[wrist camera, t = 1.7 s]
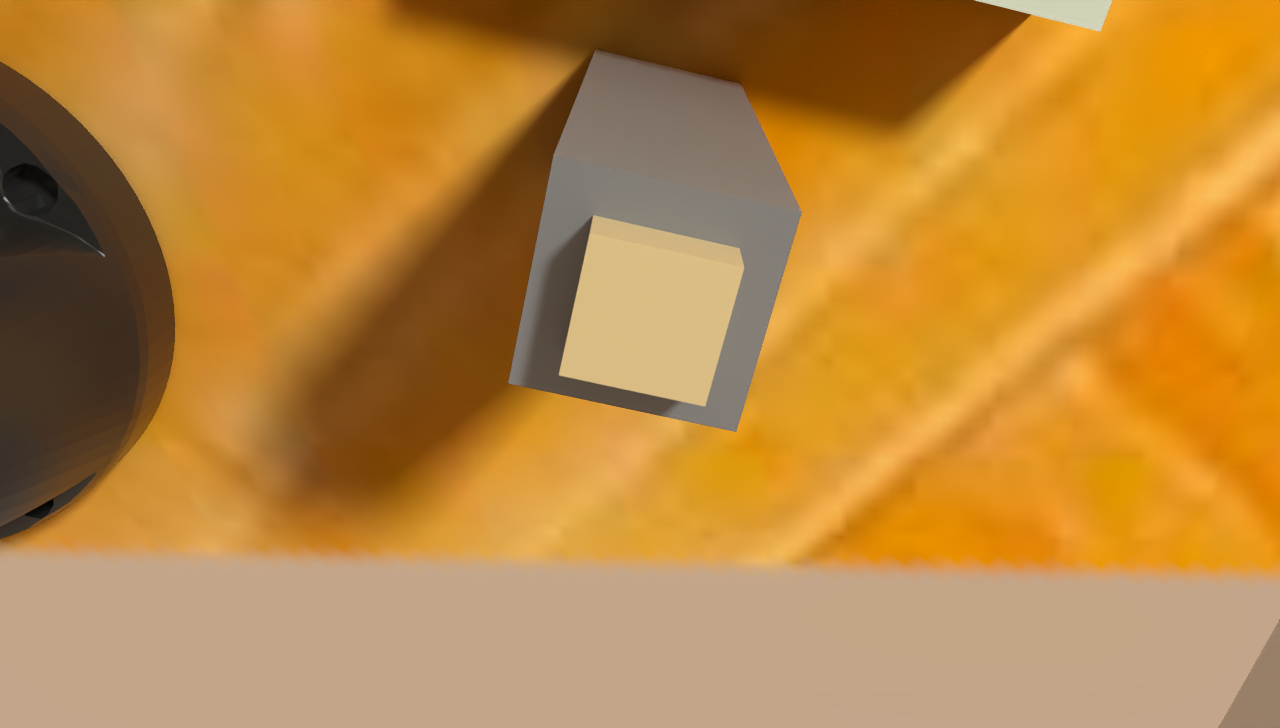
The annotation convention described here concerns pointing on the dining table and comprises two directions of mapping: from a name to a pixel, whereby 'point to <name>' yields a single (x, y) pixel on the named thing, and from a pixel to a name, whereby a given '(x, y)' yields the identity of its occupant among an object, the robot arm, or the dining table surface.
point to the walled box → (1062, 10)
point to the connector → (656, 246)
